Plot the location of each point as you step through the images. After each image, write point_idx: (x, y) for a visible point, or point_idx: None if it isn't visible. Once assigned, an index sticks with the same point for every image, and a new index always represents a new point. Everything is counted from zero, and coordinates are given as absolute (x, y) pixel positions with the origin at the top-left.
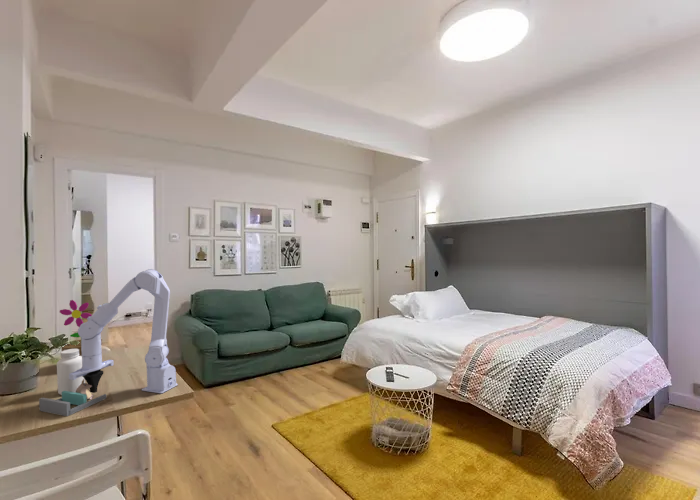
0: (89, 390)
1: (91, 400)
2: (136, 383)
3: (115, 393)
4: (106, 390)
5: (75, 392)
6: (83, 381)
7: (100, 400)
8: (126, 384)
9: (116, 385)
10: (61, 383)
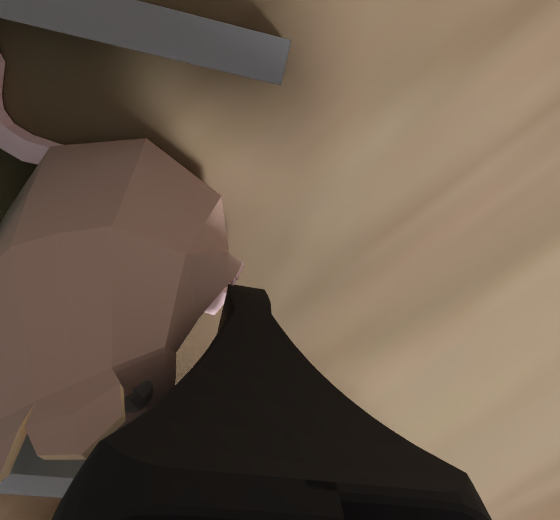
0: (233, 279)
1: (3, 483)
2: (554, 479)
3: None
4: (396, 325)
5: (18, 210)
6: (92, 400)
7: None
8: (548, 412)
9: (541, 331)
10: None
